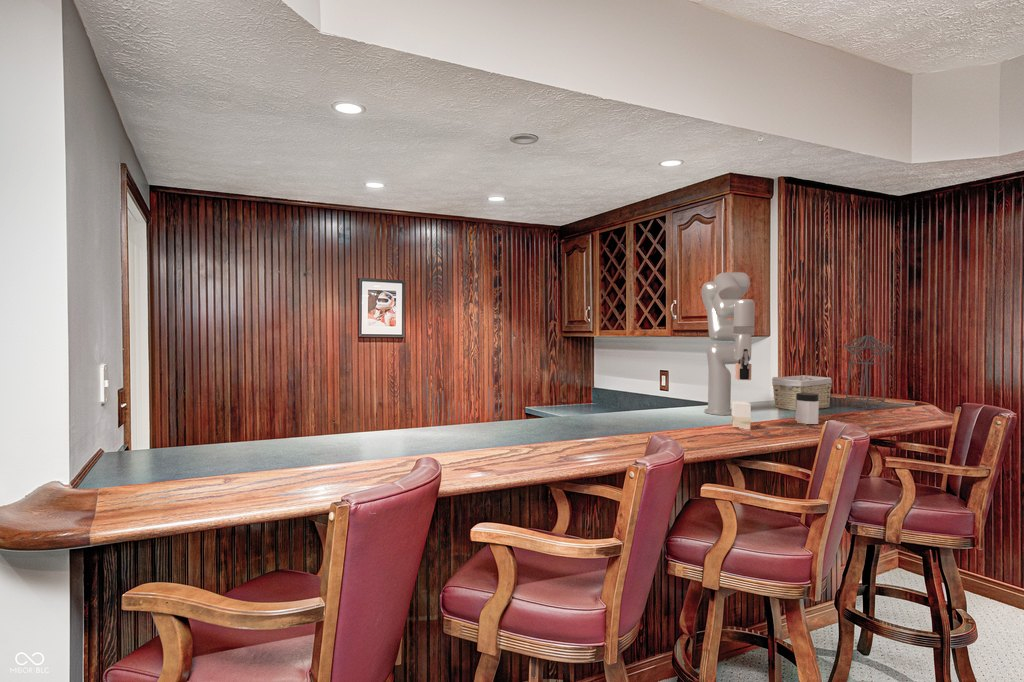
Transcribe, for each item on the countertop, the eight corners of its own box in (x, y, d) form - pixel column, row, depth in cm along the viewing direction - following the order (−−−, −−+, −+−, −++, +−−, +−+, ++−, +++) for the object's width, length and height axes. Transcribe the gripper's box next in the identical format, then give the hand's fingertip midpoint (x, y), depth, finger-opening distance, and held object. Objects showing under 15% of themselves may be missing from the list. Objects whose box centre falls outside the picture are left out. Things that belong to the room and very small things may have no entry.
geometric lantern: (838, 406, 281) (841, 334, 280) (866, 406, 284) (869, 335, 283) (863, 411, 265) (866, 335, 265) (893, 411, 268) (896, 335, 267)
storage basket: (799, 412, 263) (800, 380, 263) (769, 407, 278) (770, 376, 277) (833, 408, 274) (833, 377, 274) (802, 404, 289) (803, 374, 288)
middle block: (731, 414, 227) (731, 401, 226) (747, 414, 225) (748, 402, 225) (733, 416, 221) (733, 403, 221) (750, 417, 219) (750, 404, 219)
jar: (822, 423, 234) (823, 394, 234) (813, 425, 229) (814, 395, 229) (800, 420, 241) (800, 391, 241) (790, 422, 236) (791, 393, 236)
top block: (735, 378, 226) (735, 363, 225) (748, 378, 224) (749, 363, 224) (737, 379, 221) (737, 364, 221) (751, 380, 220) (751, 364, 219)
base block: (731, 426, 227) (731, 414, 227) (747, 427, 225) (747, 414, 225) (733, 429, 221) (733, 416, 221) (750, 430, 220) (750, 417, 219)
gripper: (730, 330, 231) (729, 376, 232) (736, 331, 215) (736, 380, 215) (750, 331, 229) (749, 376, 230) (758, 331, 213) (757, 381, 213)
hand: (742, 377), depth 223 cm, fingers closed on top block, 4 cm apart
